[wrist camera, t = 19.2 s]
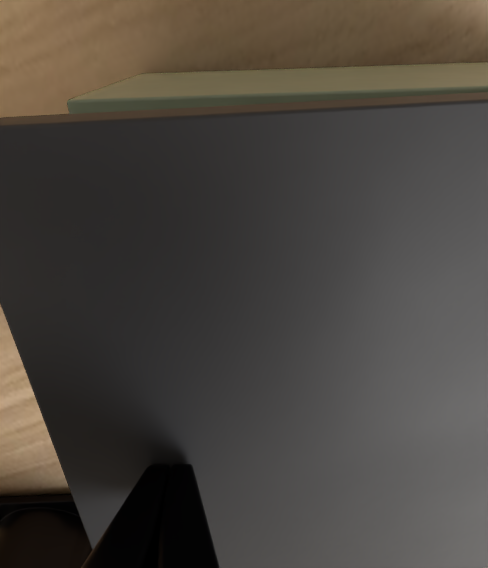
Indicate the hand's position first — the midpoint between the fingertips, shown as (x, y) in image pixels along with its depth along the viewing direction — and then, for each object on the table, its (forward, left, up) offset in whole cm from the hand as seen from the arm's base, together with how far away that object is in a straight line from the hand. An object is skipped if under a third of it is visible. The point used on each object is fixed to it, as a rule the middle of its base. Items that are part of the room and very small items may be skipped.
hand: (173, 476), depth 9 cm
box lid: (+4, 0, -1) cm, 5 cm away
